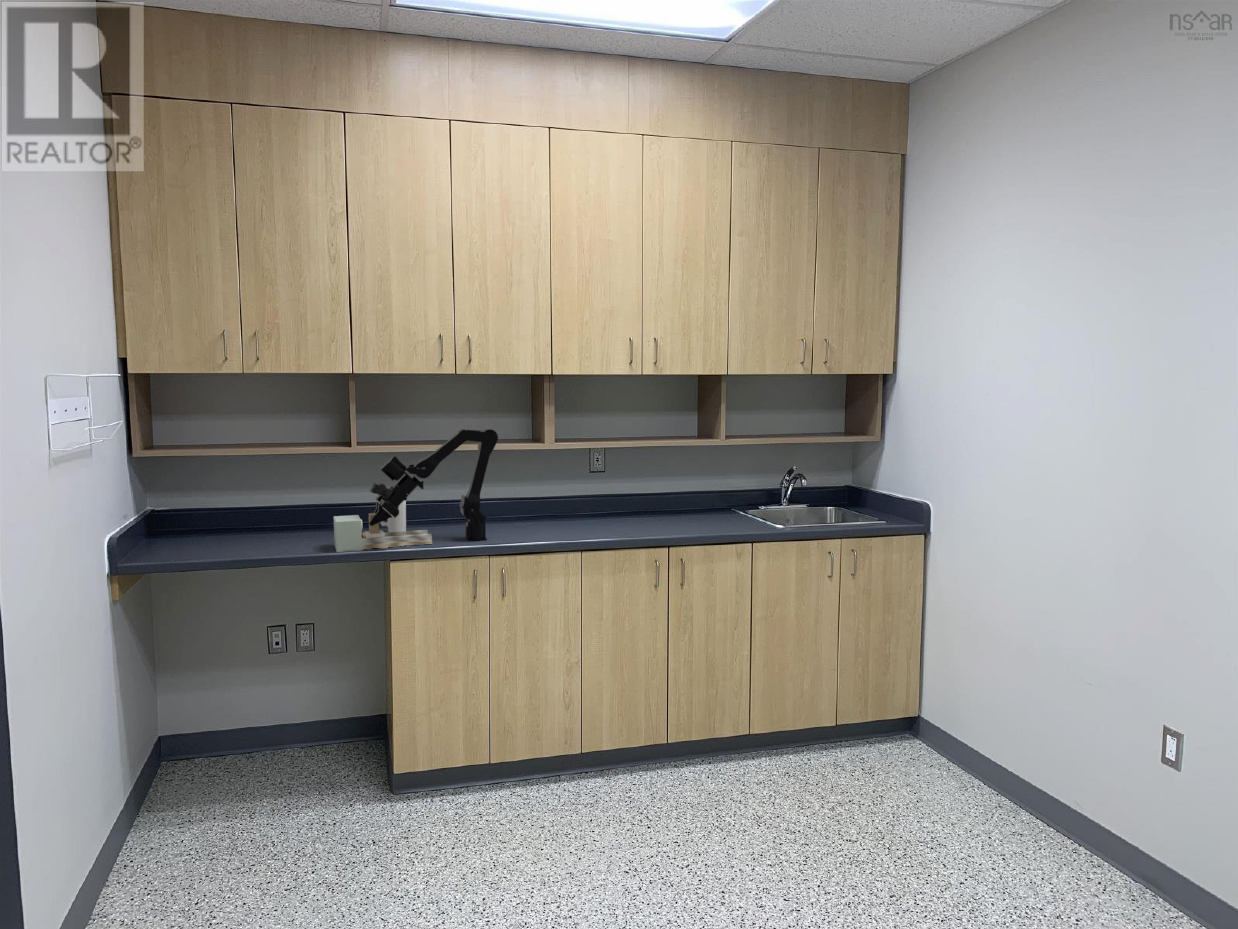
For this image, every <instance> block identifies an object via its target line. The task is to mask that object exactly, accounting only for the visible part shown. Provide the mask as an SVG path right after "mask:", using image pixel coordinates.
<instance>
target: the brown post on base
mask: <svg viewBox="0 0 1238 929" xmlns="http://www.w3.org/2000/svg"><path fill="white" fill-rule="evenodd" d="M375 514H376V513H374V512H371V513H368V522H369V523H370V522H371V520H372V519H373V517H374V516H375ZM369 523H368V531H363V533H365V535H366V538H377V537H385V533H386V532H384V531H383V530H380V522H379V523H377V524H375V525H373V526H371V525H370V524H369Z"/></svg>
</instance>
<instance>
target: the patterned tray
mask: <svg viewBox="0 0 1238 929" xmlns="http://www.w3.org/2000/svg"><path fill="white" fill-rule="evenodd" d="M384 533H385V537H377V538H362V550H361V551H364V550H363V549H367V550H373V549H372V548H380V549H389V548H388V547H394V548H397V547H396V546H404V545H414V544H432V545H433V534H432V533H429V530H428V529H420V530H419V529H418V530H406V531H402V532H388V531H387V532H384Z"/></svg>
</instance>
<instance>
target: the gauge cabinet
mask: <svg viewBox="0 0 1238 929" xmlns="http://www.w3.org/2000/svg"><path fill="white" fill-rule="evenodd" d="M362 531H363V519H361V518H360V515H359V514H352V515H337V516H336V515H335V516H333V533H334V534H333V539H334V540H333V541H334V542H333V543H334V548H335V551H336V553H345V552H358V551H361V552H362V551H363V550H362V533H363V532H362Z"/></svg>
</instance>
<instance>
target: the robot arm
mask: <svg viewBox="0 0 1238 929" xmlns="http://www.w3.org/2000/svg"><path fill="white" fill-rule="evenodd" d="M498 440H499V434H498V433H497V432H496V431H495V430H494V429H492V428H483V429H481V430H476V429H475V430H474V429H466V428H460V429H459V430H458V431H457V432H456V433H455V434H454V435H453V436H452V437H450V438H449V439H448V440H447V441H445V442H444V443H443V444H442V445H441V446H440V447H438V448H437V449H436V450H434V451H433V452H432V453H430V454H429V455H426V456H424V457H422V458H421V459H419V460H417V461H416V462H415V463H413V464H407V465H405V464H404V463H403V462H401V461H400V460H399V458H398V457H397V456H396V455H393V456H392V457H391V458H389V459H388V460H387V461H386V462H385V463H383V464H382V466H381V467H380V469H379V470H380V471H381V472H382V473H383V474H384V475H385V476H386V477H388V478H389V479H390V480H391V481H392V482H394V481H397V483H396V484H394V485H391V486H390V487H386V486H387V485H386V484H384V483H382V482H381V483H377V482H373V484H372V486H371V488H370V489H369V491H370V493H373V495H376V494H377V496H376V497H375V500H376V501H375V510H374V511H373V513H376V514H375V516H374V517H373V519H372V520H371V522H370V523H369V521H368V525H369V524H370V525H371V526H373V525H375V524H377V523H379V524H380V522H382V521H383V522H385V521H387V520H388V519H389V518H392V516H394V517H395V518H396V517H397V516H398V515H399V509H398V508H399V507H398V506H399V505H400V504H401V503H402V502H403V501H404V500H405V501H406V502H407V500H408V497H409V496H410V495H411V493H413V492H414V491H415V490H416V488H420V489H421V490H424V482H425V481H424V480H420V479H427V478H429V477H430V476H431V475H432V473H433V472H434V471H435V470H436V468H438V466H439V464H440V463H441V462H442V461H443V460H444V459H446V458H447V457H448V456H449V455H451V454H452V453H454V451H456V449H458V448H459V447H460V446H462V445H463V444H464V443H465V442H466V441H470V442H477V456H476V461H475V464H474V467H473V473H472V475H471V476H472V477H471V479H470V484H469V489H468V491H467V492H466V495H464V494H461V497H460V498H461V500H460V503H459V505H458V506H459V508H460V509H459V510H460V513H461V515H463V516H464V517H465V518H466V520H467V521H465V526H464V538H465V540H467V541H469V542H473V541H474V542H475V541H484V540H485V541H487V540H488V538H487V536H486V535H487V534H486V533H487V530H486V528H487V527H486V520H487V517H486V516H485V514H483V513H482V512H481V492H482V489H483V488H482V487H483V484H484V479H485V476H486V472H487V467H488V464H489V459H490V456H491V454H492V452H493V451H494V449H495V447H496V445H497V443H498ZM406 471H407V472H408V473H407V472H406ZM409 474H410V475H412V476H410V475H409ZM415 475H416V476H417V477H418V478H419V479H418V478H417V477H416V476H415Z"/></svg>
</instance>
